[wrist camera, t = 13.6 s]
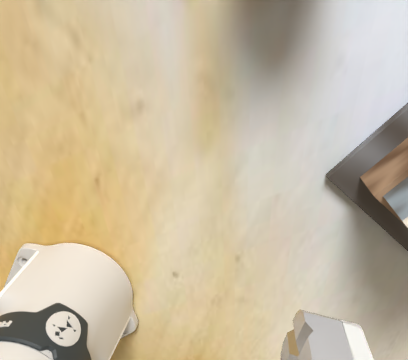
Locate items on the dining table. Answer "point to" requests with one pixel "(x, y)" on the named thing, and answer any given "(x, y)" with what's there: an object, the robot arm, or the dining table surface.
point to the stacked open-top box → (380, 176)
